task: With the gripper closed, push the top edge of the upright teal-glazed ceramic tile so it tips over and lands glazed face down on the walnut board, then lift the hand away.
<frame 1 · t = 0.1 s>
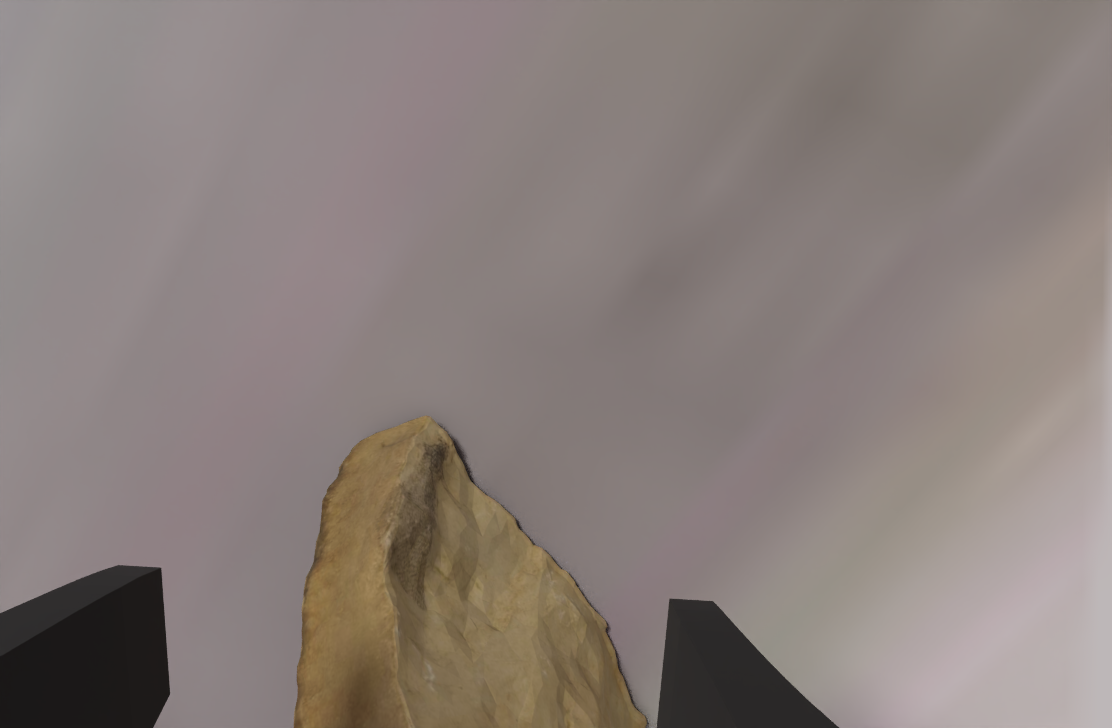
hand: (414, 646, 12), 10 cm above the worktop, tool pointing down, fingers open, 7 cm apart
rock: (499, 580, 23), on the worktop
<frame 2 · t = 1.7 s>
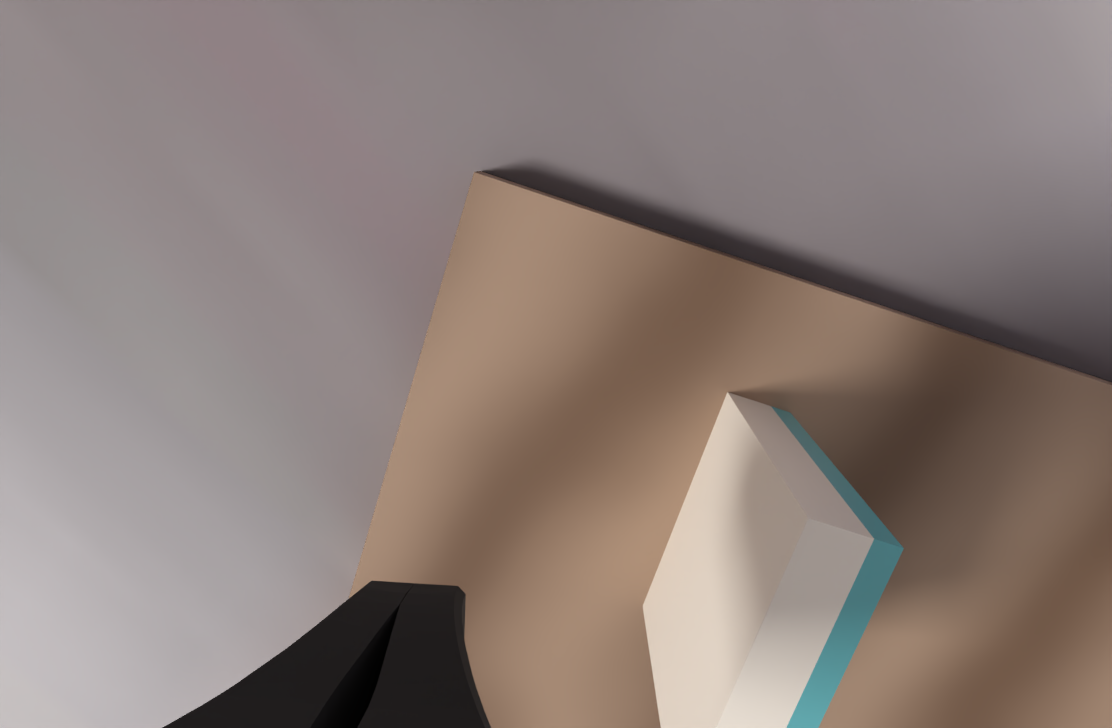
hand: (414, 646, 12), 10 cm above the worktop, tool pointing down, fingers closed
board: (784, 591, 22), on the worktop
tile: (713, 512, 20), point 1 cm above the worktop, touching board
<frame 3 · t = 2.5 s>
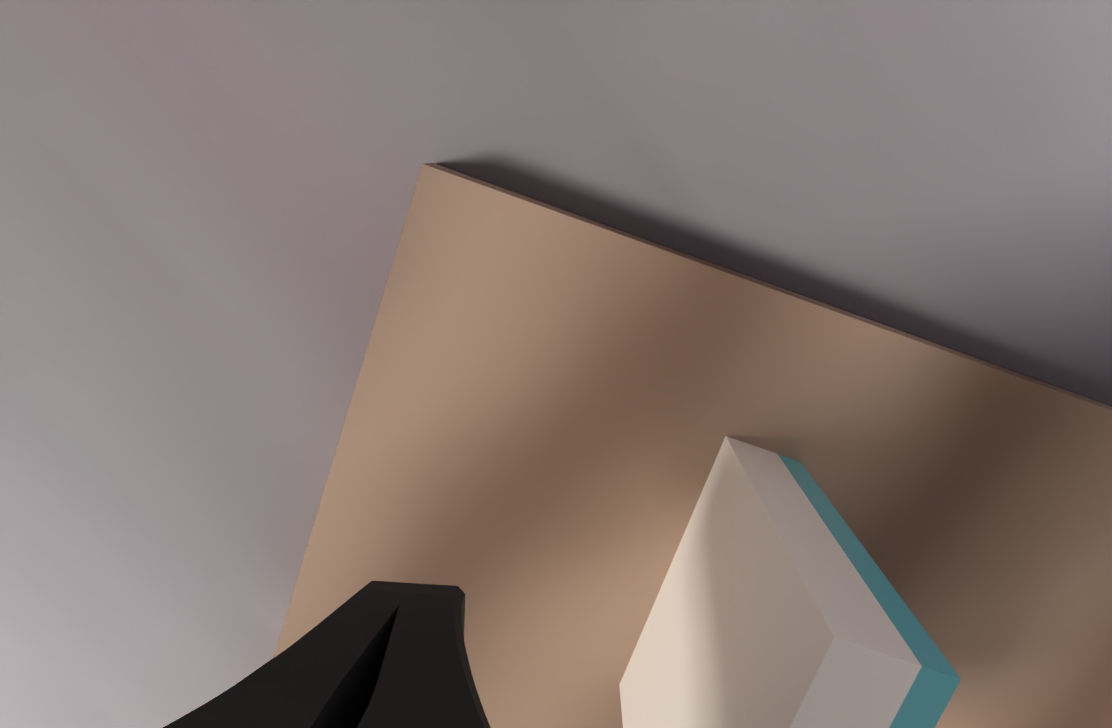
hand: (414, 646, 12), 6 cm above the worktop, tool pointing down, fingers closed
board: (787, 666, 19), on the worktop
tile: (706, 577, 17), point 1 cm above the worktop, touching board
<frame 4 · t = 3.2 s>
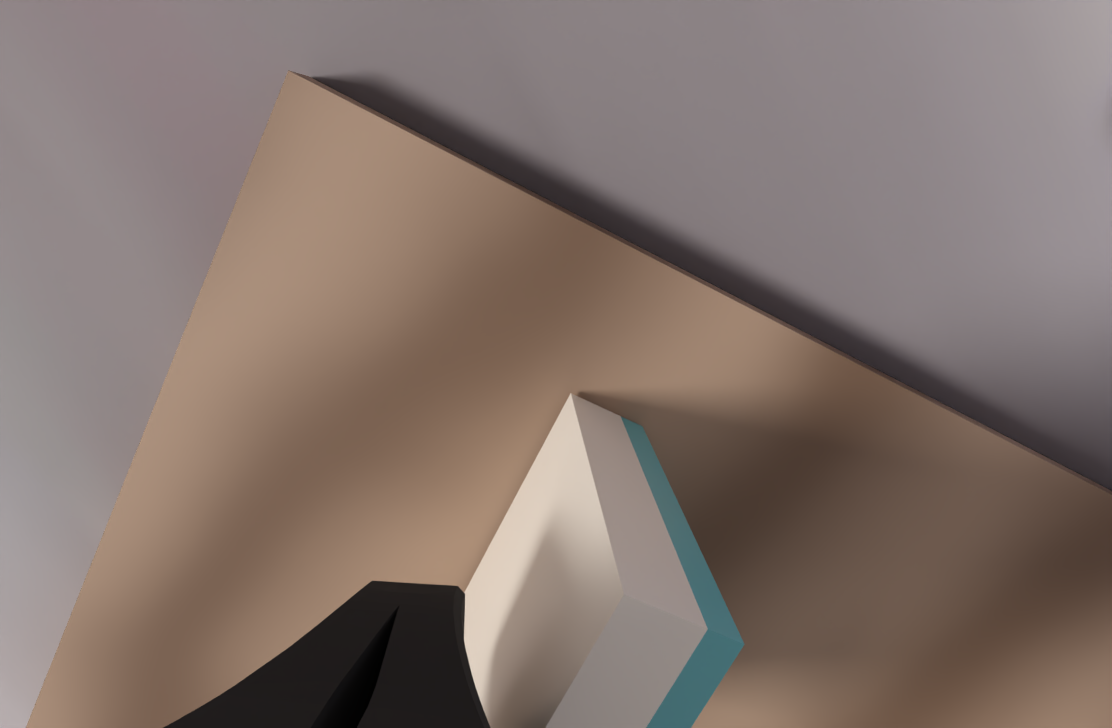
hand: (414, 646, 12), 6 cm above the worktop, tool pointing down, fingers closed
board: (619, 637, 19), on the worktop
tile: (538, 534, 17), point 1 cm above the worktop, tilted 6°, touching board
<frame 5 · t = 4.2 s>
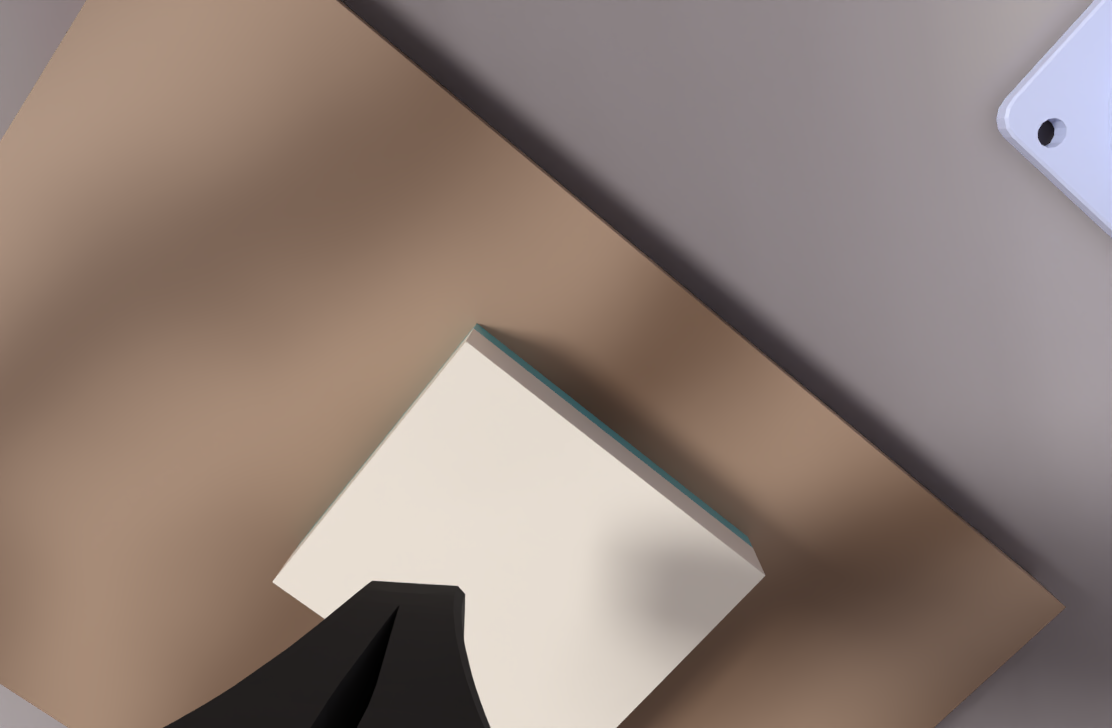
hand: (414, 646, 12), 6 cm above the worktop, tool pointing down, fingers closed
board: (420, 542, 18), on the worktop
tile: (375, 451, 16), point 2 cm above the worktop, tilted 90°, touching board
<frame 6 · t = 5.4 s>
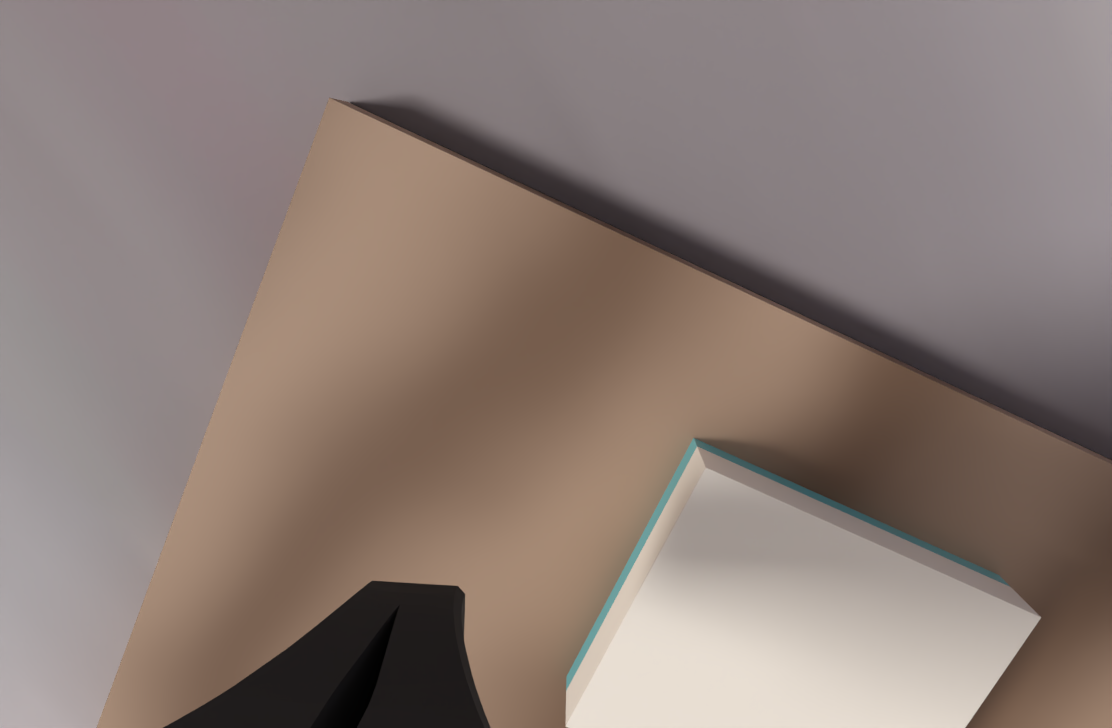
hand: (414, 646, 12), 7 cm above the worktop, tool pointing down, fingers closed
board: (669, 644, 19), on the worktop
tile: (629, 581, 16), point 2 cm above the worktop, tilted 90°, touching board
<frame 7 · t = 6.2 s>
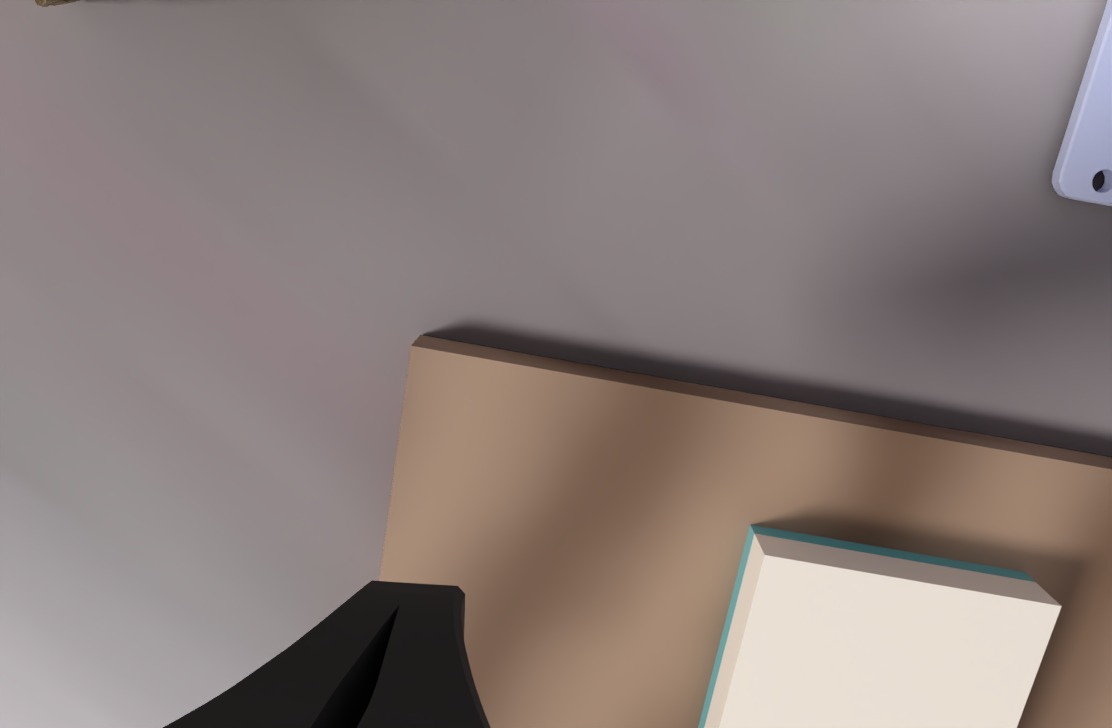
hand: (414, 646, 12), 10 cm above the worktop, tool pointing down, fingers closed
board: (773, 681, 23), on the worktop
tile: (728, 648, 20), point 2 cm above the worktop, tilted 90°, touching board
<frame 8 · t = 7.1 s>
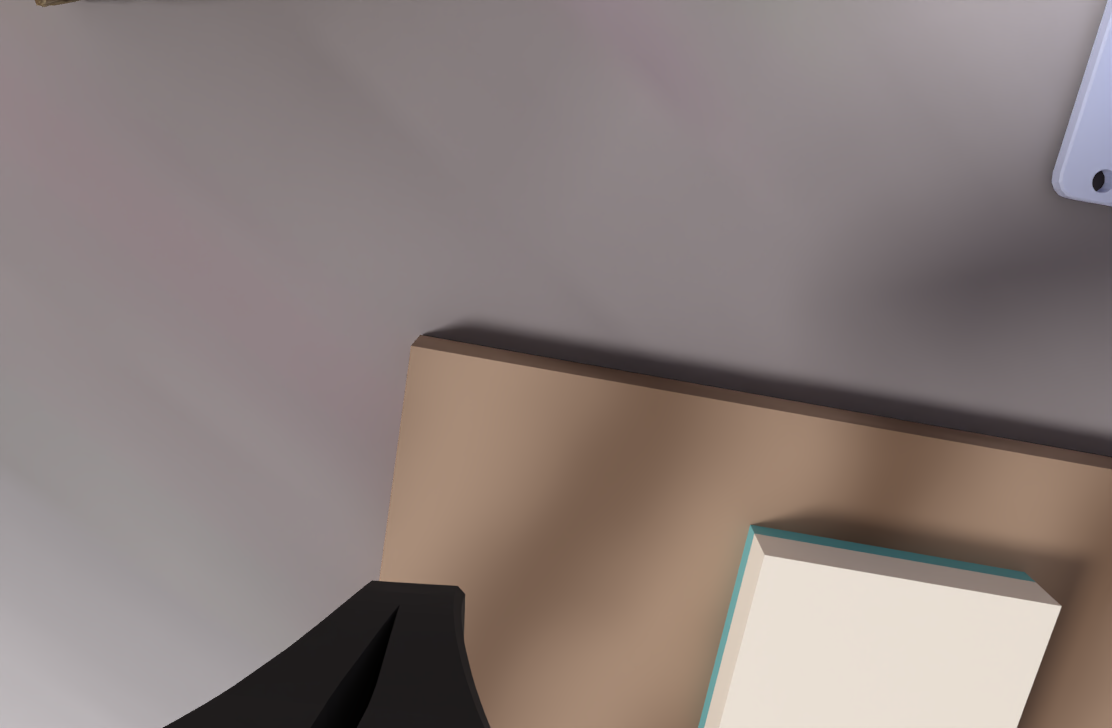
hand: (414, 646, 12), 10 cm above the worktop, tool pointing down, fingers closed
board: (773, 681, 23), on the worktop
tile: (728, 648, 20), point 2 cm above the worktop, tilted 90°, touching board
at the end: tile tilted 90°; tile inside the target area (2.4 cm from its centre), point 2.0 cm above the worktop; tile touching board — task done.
